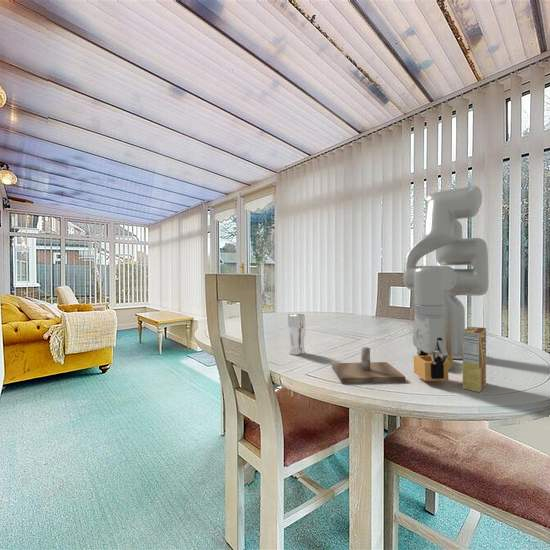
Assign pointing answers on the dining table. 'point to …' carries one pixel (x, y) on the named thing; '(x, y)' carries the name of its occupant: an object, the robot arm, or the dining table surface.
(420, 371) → the collar
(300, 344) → the beer glass
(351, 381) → the post board
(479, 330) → the candy box
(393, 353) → the dining table surface
